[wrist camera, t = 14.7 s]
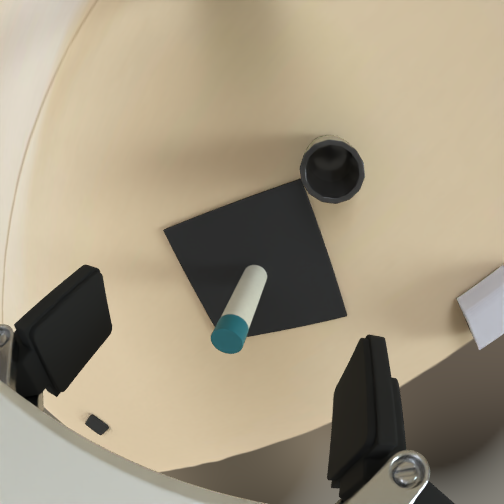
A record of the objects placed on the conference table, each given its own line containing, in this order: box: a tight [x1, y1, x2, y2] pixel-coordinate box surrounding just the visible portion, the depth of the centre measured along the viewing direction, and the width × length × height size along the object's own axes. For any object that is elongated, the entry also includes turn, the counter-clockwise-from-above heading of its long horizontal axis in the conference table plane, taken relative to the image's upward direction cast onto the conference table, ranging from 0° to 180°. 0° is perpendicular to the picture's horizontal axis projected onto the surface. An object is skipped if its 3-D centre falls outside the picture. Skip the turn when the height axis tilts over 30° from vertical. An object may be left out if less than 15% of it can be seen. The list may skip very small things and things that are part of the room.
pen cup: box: [300, 135, 365, 204], centre depth 29 cm, size 6×6×8 cm
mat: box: [163, 179, 347, 337], centre depth 41 cm, size 20×20×1 cm
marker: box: [211, 265, 267, 354], centre depth 35 cm, size 3×3×14 cm
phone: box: [85, 415, 109, 435], centre depth 82 cm, size 7×1×15 cm
